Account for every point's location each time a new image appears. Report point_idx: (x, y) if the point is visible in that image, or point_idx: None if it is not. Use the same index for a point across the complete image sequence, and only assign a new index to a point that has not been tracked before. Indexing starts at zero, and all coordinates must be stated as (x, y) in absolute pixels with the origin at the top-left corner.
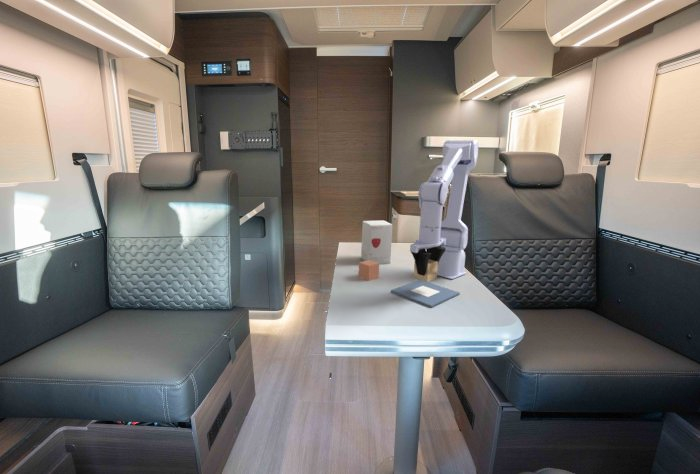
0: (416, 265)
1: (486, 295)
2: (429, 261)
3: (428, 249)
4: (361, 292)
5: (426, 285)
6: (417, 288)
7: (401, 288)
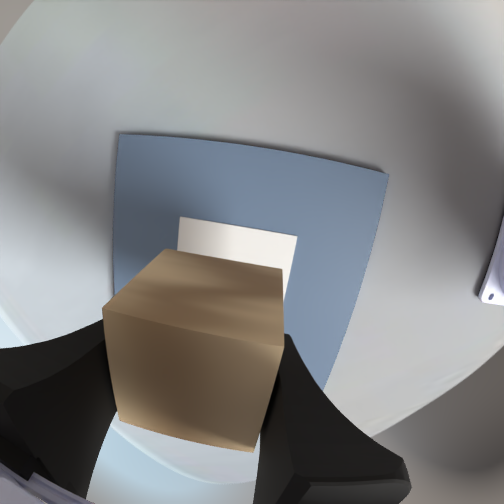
0: (90, 328)
1: (366, 432)
2: (203, 415)
3: (280, 476)
4: (53, 57)
5: (319, 248)
6: (233, 232)
7: (174, 160)
